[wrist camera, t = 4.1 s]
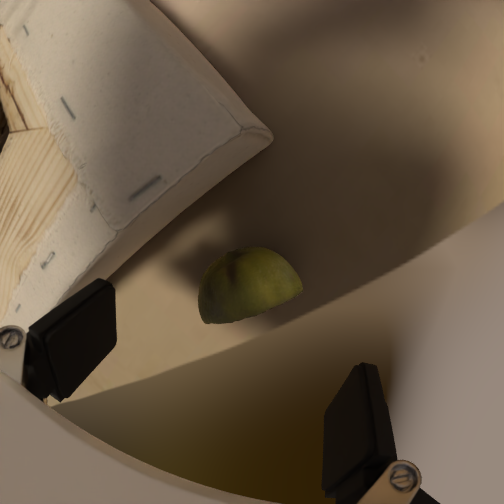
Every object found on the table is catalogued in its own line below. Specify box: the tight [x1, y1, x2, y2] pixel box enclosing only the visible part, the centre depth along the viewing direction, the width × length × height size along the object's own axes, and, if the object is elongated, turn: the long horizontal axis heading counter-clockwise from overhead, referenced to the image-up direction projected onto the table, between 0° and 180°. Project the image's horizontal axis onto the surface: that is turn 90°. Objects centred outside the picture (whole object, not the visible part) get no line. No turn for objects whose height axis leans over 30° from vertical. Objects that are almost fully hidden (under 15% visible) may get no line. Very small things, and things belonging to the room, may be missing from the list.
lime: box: [198, 247, 303, 324], centre depth 14 cm, size 4×5×5 cm
